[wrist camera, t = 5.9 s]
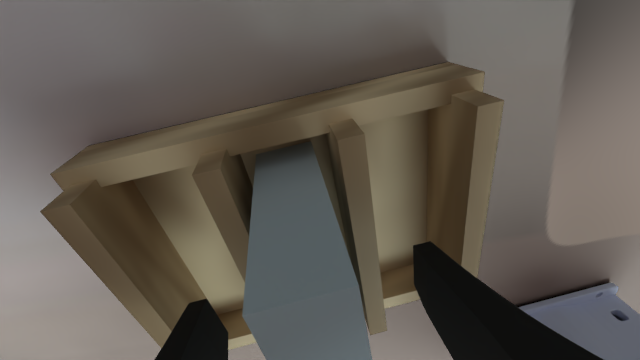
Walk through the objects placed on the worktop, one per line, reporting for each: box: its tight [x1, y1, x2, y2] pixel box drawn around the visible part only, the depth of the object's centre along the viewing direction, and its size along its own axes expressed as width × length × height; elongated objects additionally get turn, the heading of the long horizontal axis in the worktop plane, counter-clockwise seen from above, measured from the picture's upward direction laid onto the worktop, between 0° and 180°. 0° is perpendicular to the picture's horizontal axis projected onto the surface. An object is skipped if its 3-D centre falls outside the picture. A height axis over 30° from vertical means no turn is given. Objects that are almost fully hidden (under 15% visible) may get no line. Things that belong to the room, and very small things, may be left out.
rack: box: [40, 62, 504, 350], centre depth 12 cm, size 14×11×4 cm
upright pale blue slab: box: [242, 141, 372, 360], centre depth 10 cm, size 2×8×7 cm, turn 11°
